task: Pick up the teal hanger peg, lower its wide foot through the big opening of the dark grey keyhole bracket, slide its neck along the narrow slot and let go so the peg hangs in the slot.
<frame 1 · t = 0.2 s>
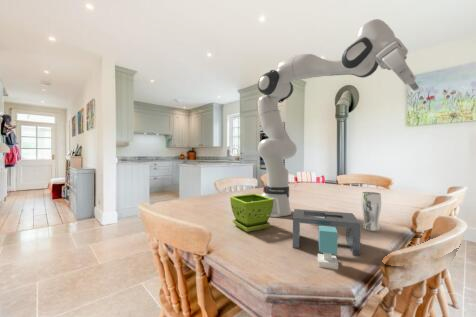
hand: (414, 86, 75), 54 cm above the table, tool tilted 30°, fingers open, 8 cm apart
hanger peg: (327, 263, 62), on the table
beer glass: (370, 229, 91), on the table
keyhole bracket: (323, 244, 76), on the table
flower pot: (251, 227, 94), on the table
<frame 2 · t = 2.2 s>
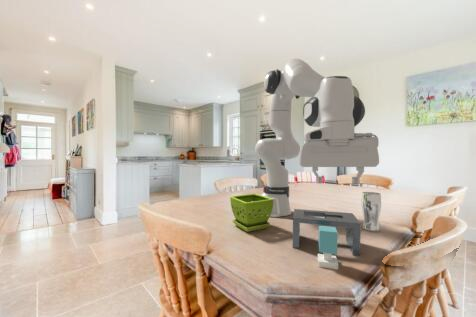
hand: (337, 183, 62), 23 cm above the table, tool pointing down, fingers open, 8 cm apart
nothing on the table moved.
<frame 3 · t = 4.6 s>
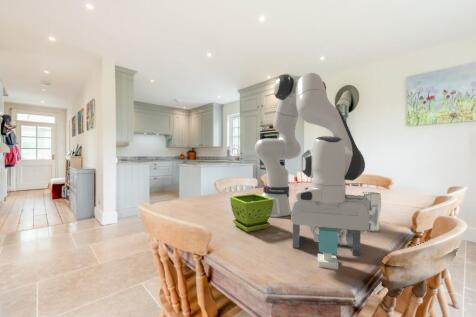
hand: (327, 242, 62), 6 cm above the table, tool pointing down, fingers closed on hanger peg, 4 cm apart
hanger peg: (327, 263, 62), on the table, touching gripper
everything else where it was.
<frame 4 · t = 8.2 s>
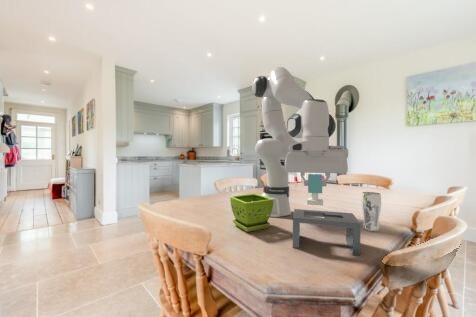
hand: (314, 185, 76), 20 cm above the table, tool pointing down, fingers closed on hanger peg, 4 cm apart
hanger peg: (314, 203, 76), point 14 cm above the table, touching gripper
everything else where it was.
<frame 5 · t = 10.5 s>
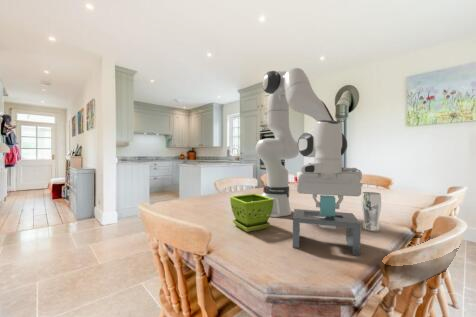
hand: (327, 207, 75), 13 cm above the table, tool pointing down, fingers closed on hanger peg, 4 cm apart
hanger peg: (327, 225, 75), point 7 cm above the table, touching gripper
everything else where it was.
when the fingers open (13 cm above the table, at t = 12.2 s): hanger peg stays where it is, resting on keyhole bracket.
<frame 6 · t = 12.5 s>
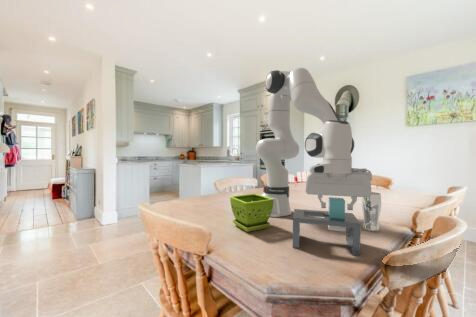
hand: (336, 208, 74), 13 cm above the table, tool pointing down, fingers open, 7 cm apart
hanger peg: (336, 228, 74), point 6 cm above the table, touching keyhole bracket
everything else where it was.
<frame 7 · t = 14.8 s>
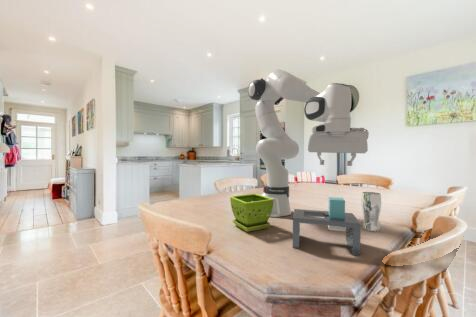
hand: (335, 165, 82), 27 cm above the table, tool pointing down, fingers open, 8 cm apart
nothing on the table moved.
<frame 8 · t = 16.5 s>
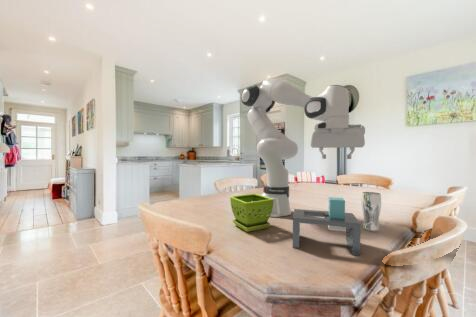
hand: (336, 158, 91), 29 cm above the table, tool pointing down, fingers open, 8 cm apart
nothing on the table moved.
at the end: hanger peg 0.1 cm from the target spot on the keyhole bracket, point 6.0 cm above the keyhole bracket's base; the gripper is holding nothing; hanger peg tilted 0° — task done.
